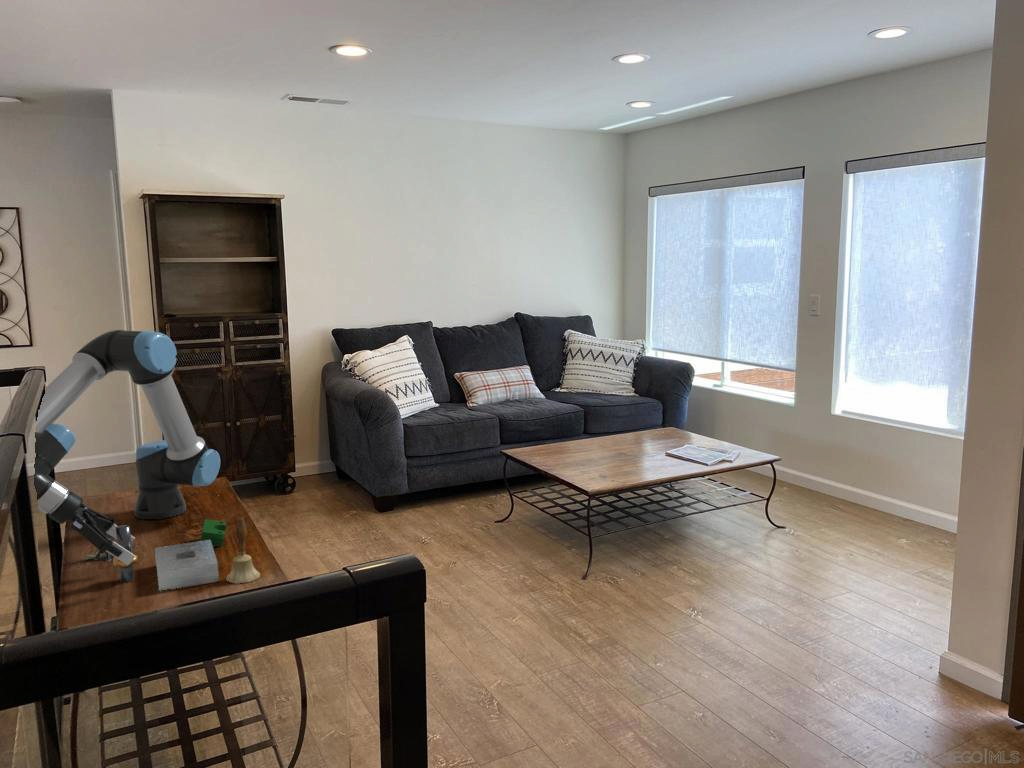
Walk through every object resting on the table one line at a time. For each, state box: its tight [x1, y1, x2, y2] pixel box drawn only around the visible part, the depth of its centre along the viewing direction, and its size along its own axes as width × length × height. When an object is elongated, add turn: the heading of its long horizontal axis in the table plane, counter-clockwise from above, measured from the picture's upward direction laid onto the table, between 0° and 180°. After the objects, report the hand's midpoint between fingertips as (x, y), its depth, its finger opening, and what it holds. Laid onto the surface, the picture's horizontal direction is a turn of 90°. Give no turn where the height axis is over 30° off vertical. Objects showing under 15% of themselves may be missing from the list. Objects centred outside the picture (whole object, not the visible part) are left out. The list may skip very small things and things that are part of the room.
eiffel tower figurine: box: [77, 512, 138, 568], centre depth 215 cm, size 15×10×13 cm
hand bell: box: [226, 517, 261, 585], centre depth 201 cm, size 8×8×16 cm
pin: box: [112, 524, 139, 583], centre depth 199 cm, size 6×6×14 cm
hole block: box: [154, 540, 220, 592], centre depth 204 cm, size 18×14×5 cm
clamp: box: [200, 518, 227, 547], centre depth 225 cm, size 12×6×9 cm, turn 12°
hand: (131, 551), depth 199 cm, fingers open, 13 cm apart
